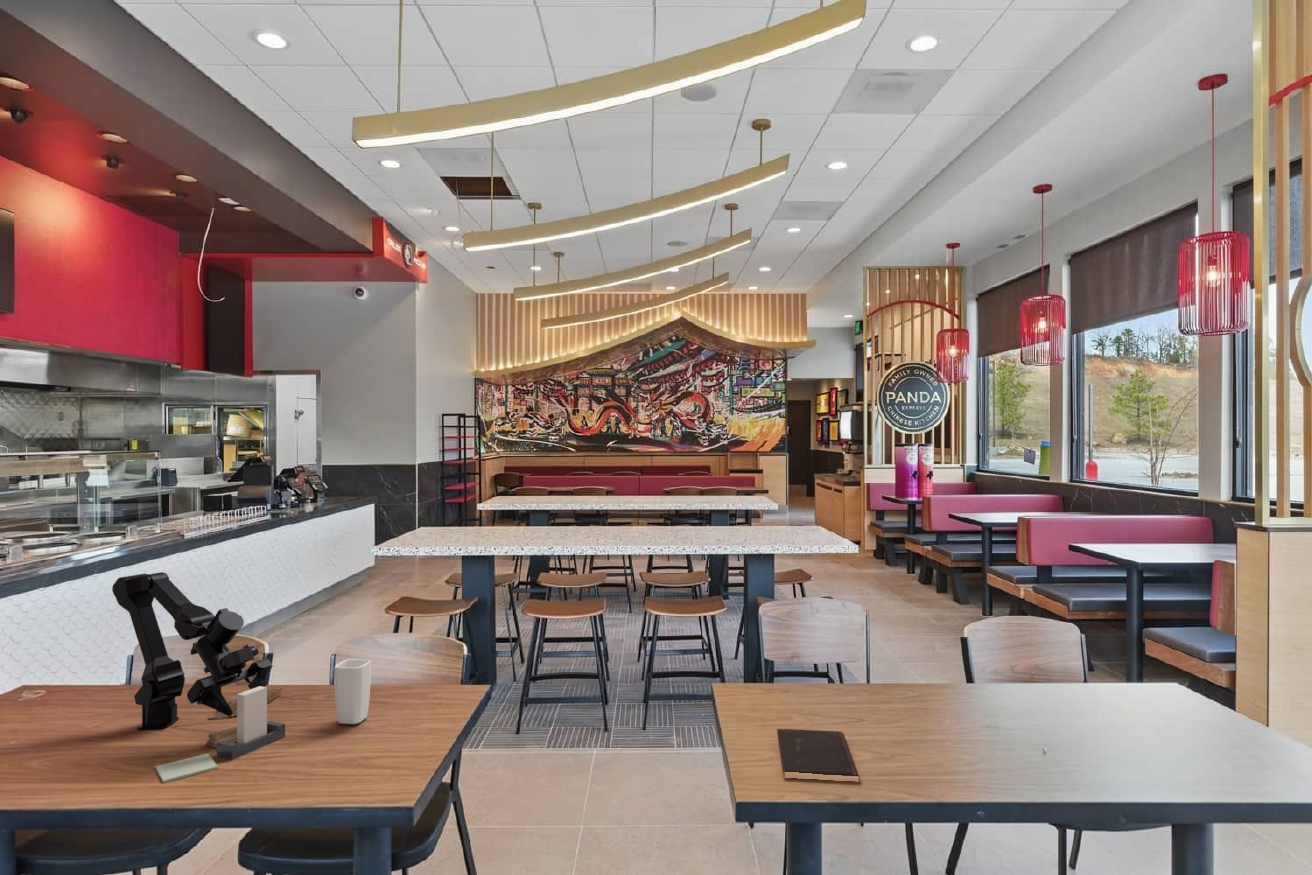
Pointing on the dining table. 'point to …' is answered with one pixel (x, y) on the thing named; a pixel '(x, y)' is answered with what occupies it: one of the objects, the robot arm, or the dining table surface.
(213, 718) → the carved relief fragment
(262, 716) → the tall block
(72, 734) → the dining table surface
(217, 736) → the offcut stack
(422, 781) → the dining table surface
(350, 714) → the cup
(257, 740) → the slot rack
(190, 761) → the sage mat
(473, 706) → the dining table surface
